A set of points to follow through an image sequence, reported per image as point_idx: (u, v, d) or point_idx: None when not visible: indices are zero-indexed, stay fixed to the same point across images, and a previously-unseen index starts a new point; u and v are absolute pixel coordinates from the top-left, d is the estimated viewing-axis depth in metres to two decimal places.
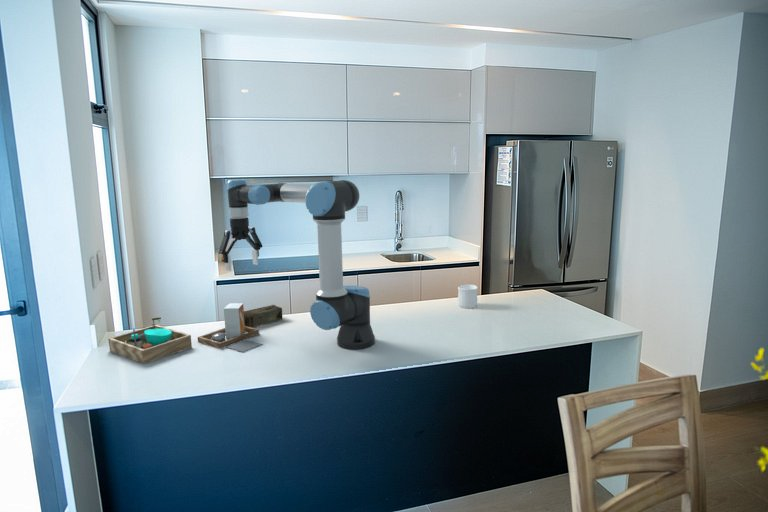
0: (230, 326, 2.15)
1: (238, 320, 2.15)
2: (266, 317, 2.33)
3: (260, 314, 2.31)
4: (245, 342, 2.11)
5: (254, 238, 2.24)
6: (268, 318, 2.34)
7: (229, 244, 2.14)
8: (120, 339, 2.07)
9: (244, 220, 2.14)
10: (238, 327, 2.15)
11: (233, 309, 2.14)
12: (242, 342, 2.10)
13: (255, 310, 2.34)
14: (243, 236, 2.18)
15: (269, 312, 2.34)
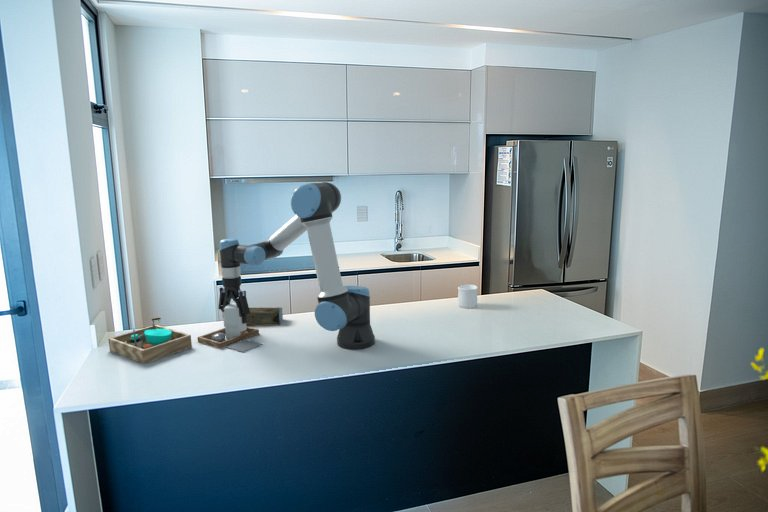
0: (229, 326, 2.15)
1: (238, 320, 2.14)
2: (259, 318, 2.32)
3: (253, 313, 2.32)
4: (245, 342, 2.11)
5: None
6: (261, 319, 2.32)
7: None
8: (120, 339, 2.07)
9: (224, 280, 2.12)
10: (238, 327, 2.15)
11: (233, 309, 2.14)
12: (242, 342, 2.10)
13: (256, 309, 2.36)
14: None
15: (263, 314, 2.32)
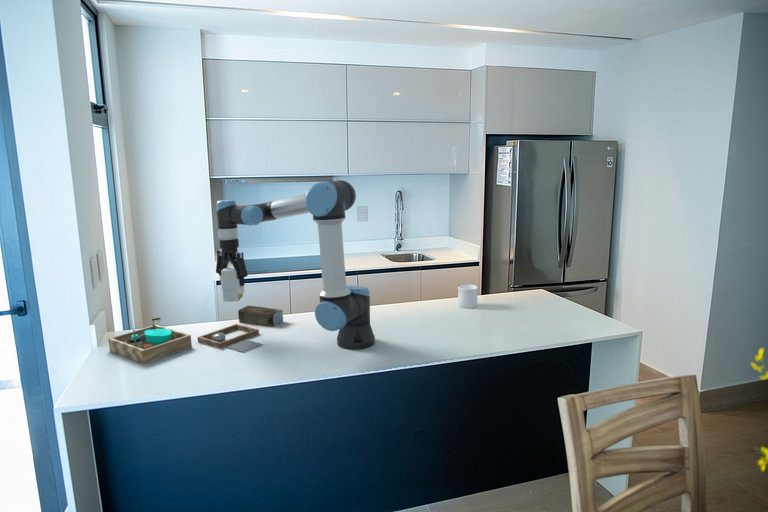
0: (227, 289, 2.12)
1: (236, 283, 2.11)
2: (256, 318, 2.33)
3: (251, 313, 2.33)
4: (245, 342, 2.11)
5: None
6: (258, 319, 2.32)
7: None
8: (120, 339, 2.07)
9: (221, 242, 2.09)
10: (236, 290, 2.12)
11: (231, 271, 2.11)
12: (242, 342, 2.10)
13: (258, 308, 2.37)
14: None
15: (259, 314, 2.32)
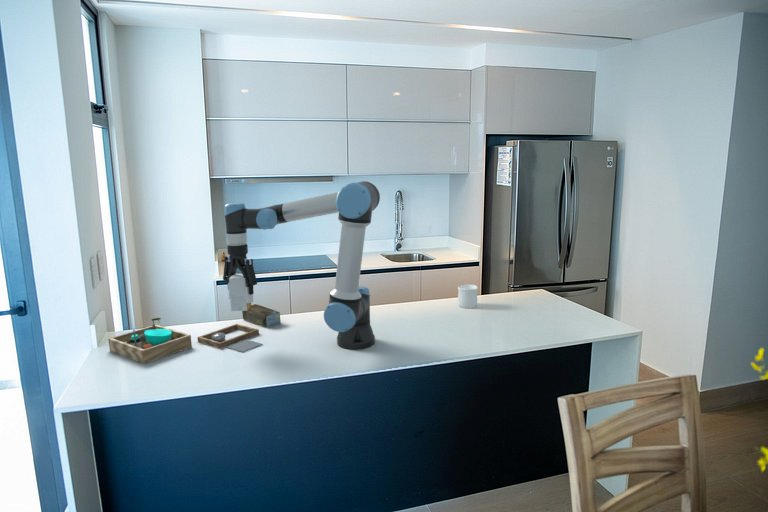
0: (235, 297, 1.99)
1: (244, 291, 1.99)
2: (254, 317, 2.33)
3: (250, 311, 2.35)
4: (245, 342, 2.11)
5: None
6: (255, 319, 2.33)
7: None
8: (120, 339, 2.07)
9: (229, 248, 1.97)
10: (244, 298, 1.99)
11: (239, 279, 1.98)
12: (242, 342, 2.10)
13: (260, 308, 2.38)
14: (237, 265, 2.00)
15: (256, 314, 2.32)
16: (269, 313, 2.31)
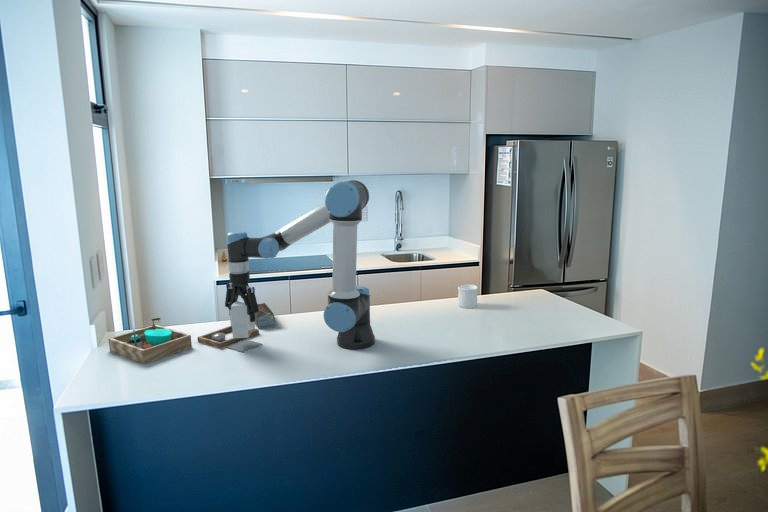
0: (237, 325, 2.01)
1: (246, 318, 2.01)
2: None
3: None
4: (245, 342, 2.11)
5: None
6: None
7: None
8: (120, 339, 2.07)
9: (231, 276, 1.99)
10: (246, 326, 2.02)
11: (241, 307, 2.00)
12: (242, 342, 2.10)
13: (262, 307, 2.38)
14: None
15: None
16: (263, 314, 2.29)
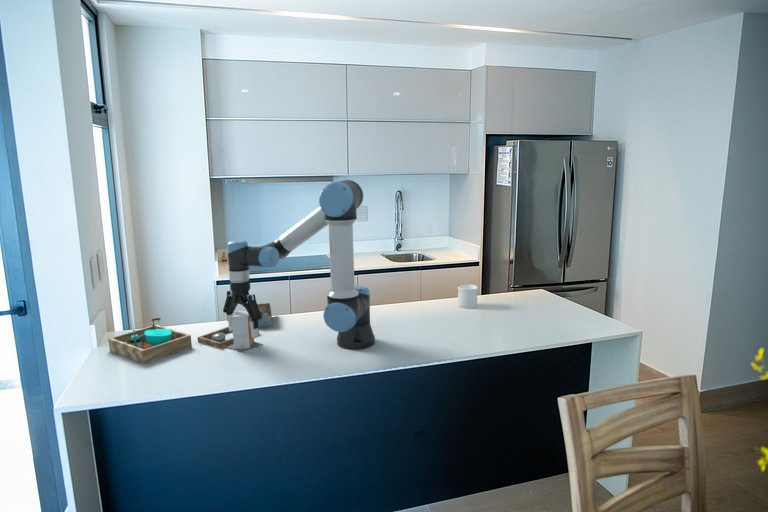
0: (238, 336, 2.02)
1: (247, 329, 2.02)
2: None
3: None
4: None
5: None
6: None
7: None
8: (120, 339, 2.07)
9: (232, 285, 1.99)
10: (247, 336, 2.02)
11: (242, 317, 2.01)
12: None
13: (264, 307, 2.38)
14: None
15: None
16: (261, 314, 2.29)
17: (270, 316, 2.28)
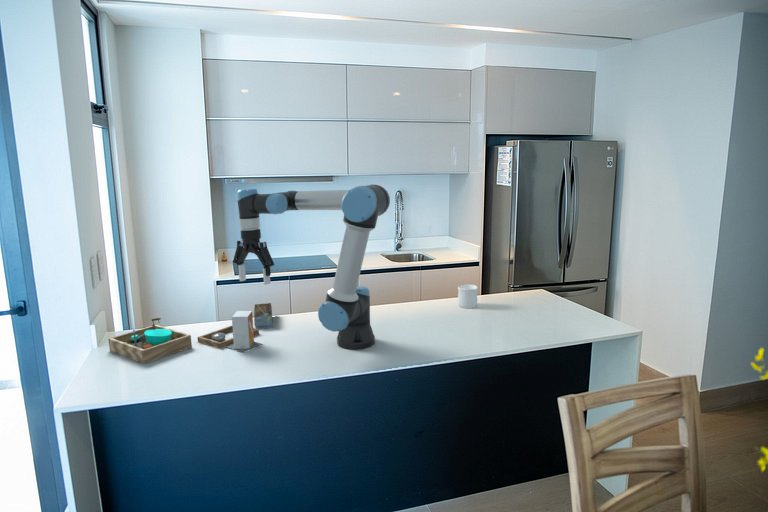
0: (238, 336, 2.02)
1: (247, 329, 2.02)
2: None
3: (254, 310, 2.38)
4: None
5: None
6: None
7: None
8: (120, 339, 2.07)
9: (243, 232, 2.00)
10: (247, 336, 2.02)
11: (242, 317, 2.01)
12: None
13: (264, 307, 2.38)
14: (251, 249, 2.03)
15: (254, 313, 2.33)
16: (261, 314, 2.29)
17: (270, 316, 2.28)
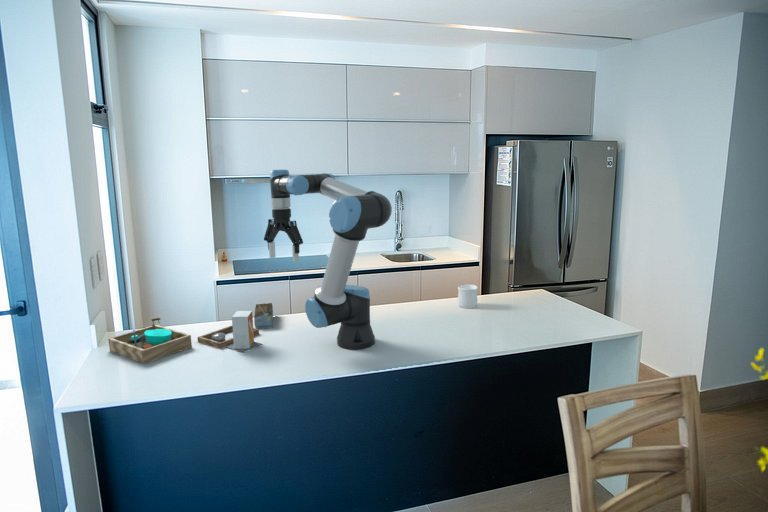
0: (238, 336, 2.02)
1: (247, 329, 2.02)
2: None
3: (255, 309, 2.38)
4: None
5: None
6: None
7: None
8: (120, 339, 2.07)
9: (274, 211, 2.09)
10: (247, 336, 2.02)
11: (242, 317, 2.01)
12: None
13: (265, 307, 2.38)
14: (281, 228, 2.12)
15: None
16: (261, 314, 2.29)
17: (270, 316, 2.28)
